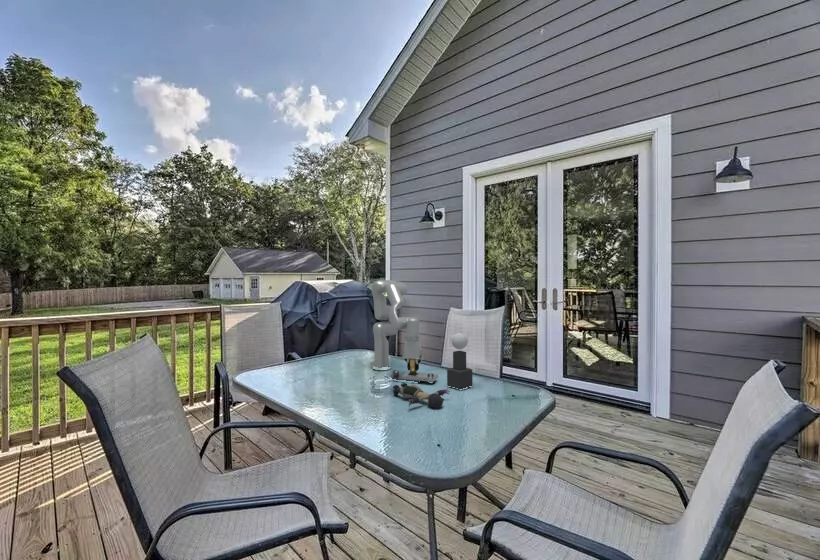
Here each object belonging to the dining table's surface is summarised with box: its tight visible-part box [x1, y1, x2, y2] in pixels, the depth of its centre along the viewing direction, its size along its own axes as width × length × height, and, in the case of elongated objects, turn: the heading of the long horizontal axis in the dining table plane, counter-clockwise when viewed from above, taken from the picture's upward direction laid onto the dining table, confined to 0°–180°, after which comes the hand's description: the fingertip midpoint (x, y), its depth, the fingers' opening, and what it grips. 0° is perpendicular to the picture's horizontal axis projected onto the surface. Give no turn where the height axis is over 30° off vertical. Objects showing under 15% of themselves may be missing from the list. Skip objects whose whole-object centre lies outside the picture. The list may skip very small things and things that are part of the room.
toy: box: [392, 382, 451, 409], centre depth 181 cm, size 27×7×30 cm
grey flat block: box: [389, 369, 439, 382], centre depth 219 cm, size 28×10×5 cm, turn 68°
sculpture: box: [446, 332, 474, 389], centre depth 205 cm, size 10×10×30 cm
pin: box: [409, 359, 418, 374], centre depth 218 cm, size 4×4×10 cm
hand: (413, 369), depth 218 cm, fingers closed on pin, 4 cm apart
